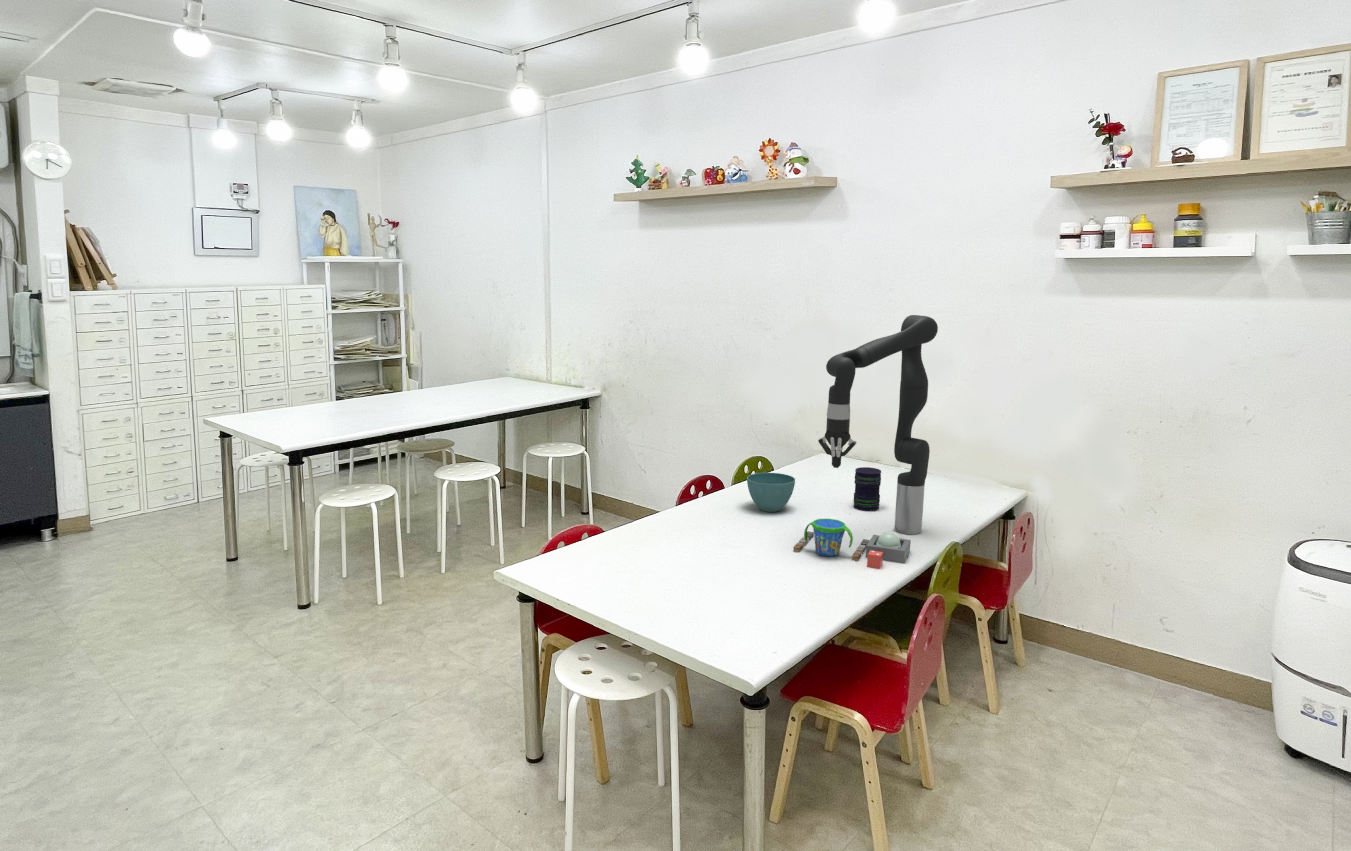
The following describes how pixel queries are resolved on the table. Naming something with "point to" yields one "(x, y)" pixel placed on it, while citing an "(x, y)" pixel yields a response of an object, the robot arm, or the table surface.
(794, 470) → the table surface
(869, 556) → the red die
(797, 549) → the track markers
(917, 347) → the robot arm
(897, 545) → the dome
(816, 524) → the snack cup
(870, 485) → the storage jar
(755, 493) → the teal bowl
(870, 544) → the frame
